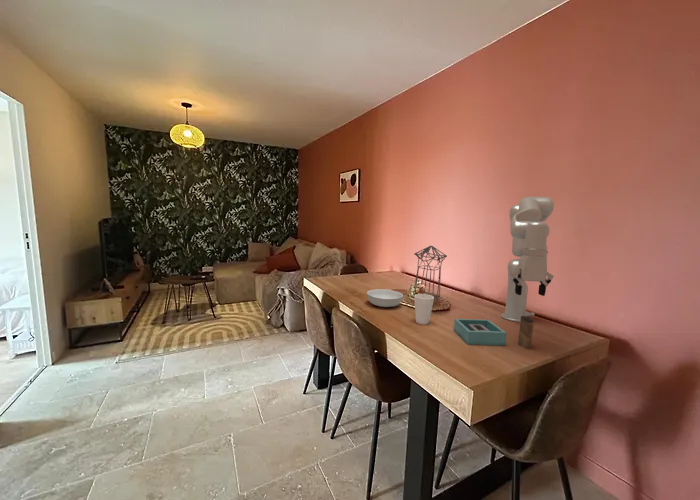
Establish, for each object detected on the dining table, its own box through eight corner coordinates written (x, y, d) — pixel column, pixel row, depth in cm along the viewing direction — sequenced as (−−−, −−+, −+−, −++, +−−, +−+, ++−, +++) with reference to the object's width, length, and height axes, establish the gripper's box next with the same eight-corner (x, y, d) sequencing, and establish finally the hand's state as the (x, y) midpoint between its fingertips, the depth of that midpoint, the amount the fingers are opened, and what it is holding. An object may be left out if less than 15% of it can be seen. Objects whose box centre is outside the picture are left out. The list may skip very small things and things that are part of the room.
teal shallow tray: (487, 331, 147) (488, 319, 146) (505, 345, 131) (506, 332, 130) (453, 330, 146) (454, 318, 145) (467, 344, 130) (468, 331, 129)
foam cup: (410, 323, 154) (411, 297, 152) (415, 317, 162) (417, 293, 160) (429, 326, 149) (431, 300, 148) (434, 321, 157) (436, 296, 156)
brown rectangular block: (523, 343, 133) (526, 316, 132) (530, 348, 129) (533, 320, 127) (518, 343, 133) (520, 316, 132) (524, 348, 128) (528, 320, 127)
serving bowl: (362, 307, 176) (363, 295, 175) (370, 298, 196) (371, 287, 195) (399, 312, 170) (400, 300, 169) (404, 302, 190) (405, 291, 189)
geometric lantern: (419, 297, 202) (425, 243, 198) (443, 303, 192) (449, 246, 188) (407, 302, 190) (413, 244, 185) (432, 308, 180) (438, 247, 176)
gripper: (549, 252, 130) (544, 293, 132) (508, 251, 130) (504, 291, 132) (561, 255, 123) (556, 297, 125) (518, 253, 122) (514, 296, 124)
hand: (529, 294), depth 128 cm, fingers open, 9 cm apart
